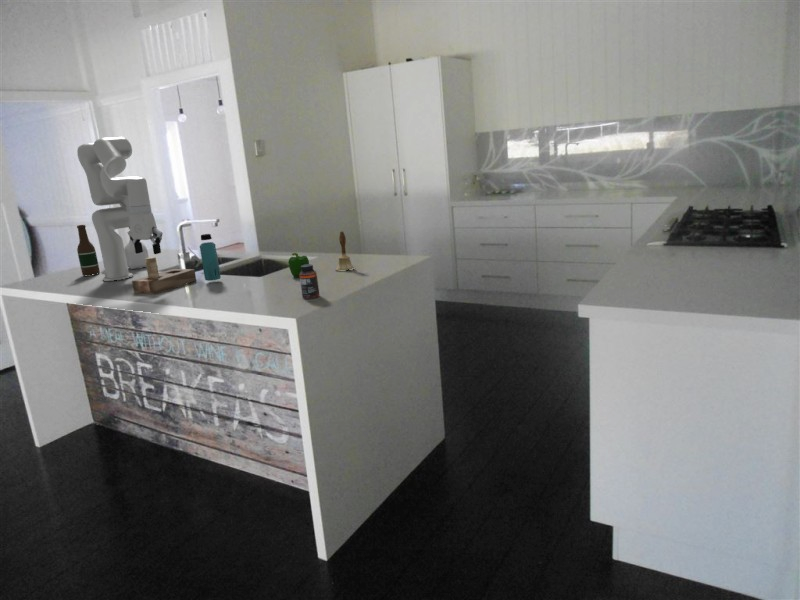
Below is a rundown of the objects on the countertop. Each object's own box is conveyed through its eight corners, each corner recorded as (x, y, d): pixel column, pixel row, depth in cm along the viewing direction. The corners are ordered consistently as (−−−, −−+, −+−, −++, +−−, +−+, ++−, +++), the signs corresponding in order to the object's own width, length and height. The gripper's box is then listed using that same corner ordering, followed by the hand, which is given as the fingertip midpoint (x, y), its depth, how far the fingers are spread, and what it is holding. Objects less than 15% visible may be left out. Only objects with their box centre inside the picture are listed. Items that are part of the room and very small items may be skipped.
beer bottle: (89, 276, 286) (79, 226, 280) (78, 276, 289) (68, 226, 283) (103, 273, 292) (93, 223, 286) (93, 272, 296) (82, 224, 290)
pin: (148, 288, 242) (142, 259, 239) (155, 286, 245) (150, 257, 242) (155, 288, 240) (150, 259, 237) (163, 286, 243) (157, 257, 240)
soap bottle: (146, 264, 307) (138, 219, 301) (151, 267, 299) (142, 221, 293) (126, 268, 301) (117, 222, 296) (130, 270, 294) (121, 223, 288)
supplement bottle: (314, 294, 213) (310, 262, 211) (322, 296, 209) (319, 264, 206) (299, 297, 210) (295, 265, 207) (307, 300, 205) (303, 267, 202)
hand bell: (356, 266, 256) (352, 229, 252) (354, 270, 248) (350, 232, 244) (336, 268, 257) (332, 230, 253) (334, 272, 249) (329, 233, 245)
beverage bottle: (217, 284, 245) (209, 235, 240) (202, 284, 246) (194, 235, 241) (224, 280, 251) (217, 232, 246) (210, 280, 252) (202, 233, 247)
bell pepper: (305, 272, 252) (302, 249, 250) (313, 275, 246) (310, 251, 243) (286, 276, 248) (283, 252, 246) (294, 279, 241) (291, 254, 239)
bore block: (134, 293, 240) (131, 280, 239) (174, 280, 260) (172, 268, 258) (156, 293, 235) (154, 281, 234) (196, 280, 255) (194, 269, 253)
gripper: (116, 211, 235) (124, 254, 240) (149, 211, 228) (157, 255, 233) (132, 208, 242) (139, 250, 246) (164, 208, 235) (171, 251, 239)
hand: (148, 253), depth 239 cm, fingers open, 9 cm apart
